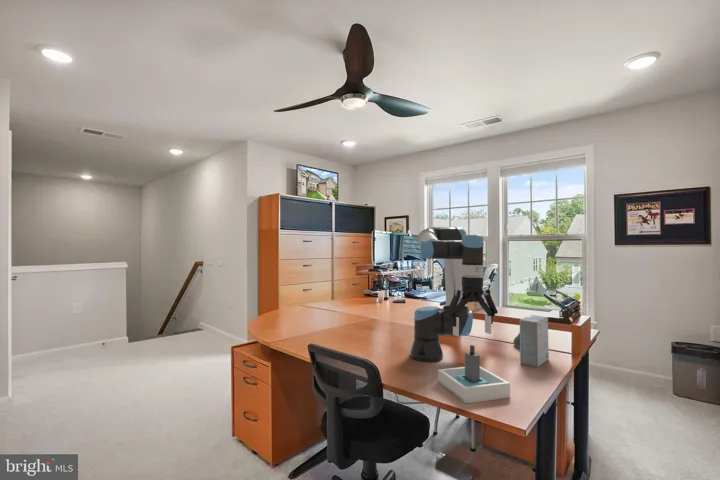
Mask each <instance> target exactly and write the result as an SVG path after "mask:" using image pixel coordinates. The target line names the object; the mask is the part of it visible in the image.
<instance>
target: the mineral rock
mask: <svg viewBox="0 0 720 480" xmlns="http://www.w3.org/2000/svg"><path fill="white" fill-rule="evenodd" d="M512 343H513V345H514V346H516V347H517V348H518V349H520V332H519V333H518V335H516V336H515V337H514V339H513V342H512Z"/></svg>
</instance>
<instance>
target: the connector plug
mask: <svg viewBox="0 0 720 480" xmlns="http://www.w3.org/2000/svg"><path fill="white" fill-rule="evenodd" d="M475 347H476V346H475V345H473V344H470V345H469V351H468V352H467V351H466V352H464V367H465V379H466V380H468V381H469V382H471V383H473V382H480V367H481V366H480V362H481V360H480V355H479V354H477V353H476V352H475V349H476V348H475Z"/></svg>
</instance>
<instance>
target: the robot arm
mask: <svg viewBox="0 0 720 480" xmlns="http://www.w3.org/2000/svg"><path fill="white" fill-rule="evenodd" d="M416 239H417V241H416V242H417V244H418V246H419V256H420V259H424V260H437V259H439V260H442V259H443V261H444V263H443V264H444V280H445V281H444V283H445V304H444V305H443V306H442V309H440V307H439V306H431V305H430V306H428V305H427V306H422V307H418V308H417V309H415V311H414V317H413V320H414V324H413V325H414V329H413V330H414V333H413V334H414V335H413V336H414V337H413V338H414V339H413V342H412V346H411V348H410V352H409V353H410V357H411V358H412V359H413V360H416V361H420V362H425V363H426V362H429V363H431V362H432V363H433V362H440V361H442V360H443V358H444V353H443V349H442V346H441V343H440V336H447V337H448V336H453V337H467V336H469V335H470V334H471V332H472V329H473V318H474V316H473V312H472V311H471V310H469V306H468V305H467V304H468V303H473V302H474V303H478V304H479V305H480V307H481V308H482V309H483V311H484V312H485V313H486V314H485V315H484V333H486V334H488V335H491V334H492V325H493V324H494V320H493V319H494V317H495V315H497V314H498V313H499V312H498V311H499V310H498V309H497V307H496V304H495V302H494V300H493V297H492V295H491V290H490V289H488V288H483V287H484V278H483V277H482V276H484V237H483V235H482V234H467V232H466V230H465V229H464V228H463V227H462V226H461V227H460V226H432V227H427V228H425V229H423V230H422V231H420V232H419V234H418V235H417V238H416ZM483 297H484V298H483ZM485 301H486V302H485Z"/></svg>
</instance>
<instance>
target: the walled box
mask: <svg viewBox="0 0 720 480" xmlns="http://www.w3.org/2000/svg"><path fill="white" fill-rule="evenodd" d="M437 383H438V384H439V385H440V386H442V387H443V388H444V389H445V390H446V391H448V392H449V393H450V394H452V395H453V396H454V397H455V398H456V399H459V400H460V401H461V402H462V404H473V403H474V404H475V403H479V402H480V403H481V402H488V401H494V400H502V399H510V398H511V382H509V381H507V380H505V379H504V378H502V377H500V376H498V375H497V374H494V373H493V372H491V371H490V370H487V369H485V368H484V367H482V366H480V382H473V383H471V382H469V381H468V380H466V379H465V366H461V367H449V368H441V369H437Z"/></svg>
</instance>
